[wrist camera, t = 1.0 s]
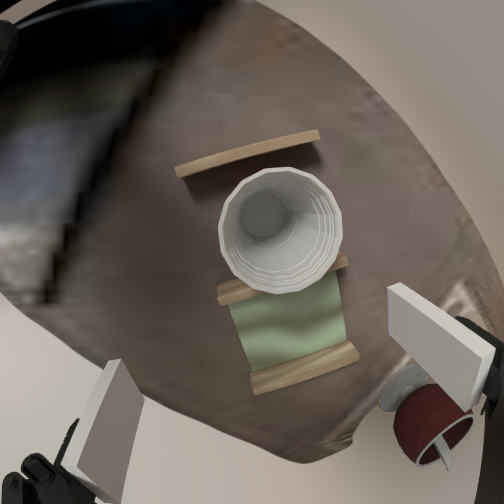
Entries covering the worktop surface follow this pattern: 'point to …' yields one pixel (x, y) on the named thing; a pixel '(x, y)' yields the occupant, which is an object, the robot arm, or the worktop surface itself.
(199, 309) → the worktop surface
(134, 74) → the worktop surface
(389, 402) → the mate gourd
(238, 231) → the plastic cup
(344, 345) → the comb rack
